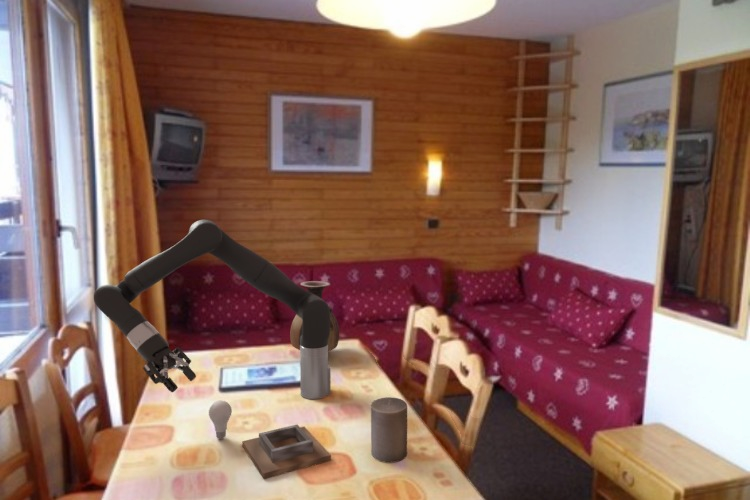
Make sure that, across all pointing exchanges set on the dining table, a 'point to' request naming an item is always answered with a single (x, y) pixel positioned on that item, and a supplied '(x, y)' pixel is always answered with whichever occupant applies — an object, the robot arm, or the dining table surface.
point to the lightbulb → (220, 417)
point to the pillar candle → (389, 429)
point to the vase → (297, 323)
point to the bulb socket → (285, 451)
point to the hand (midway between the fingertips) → (184, 384)
